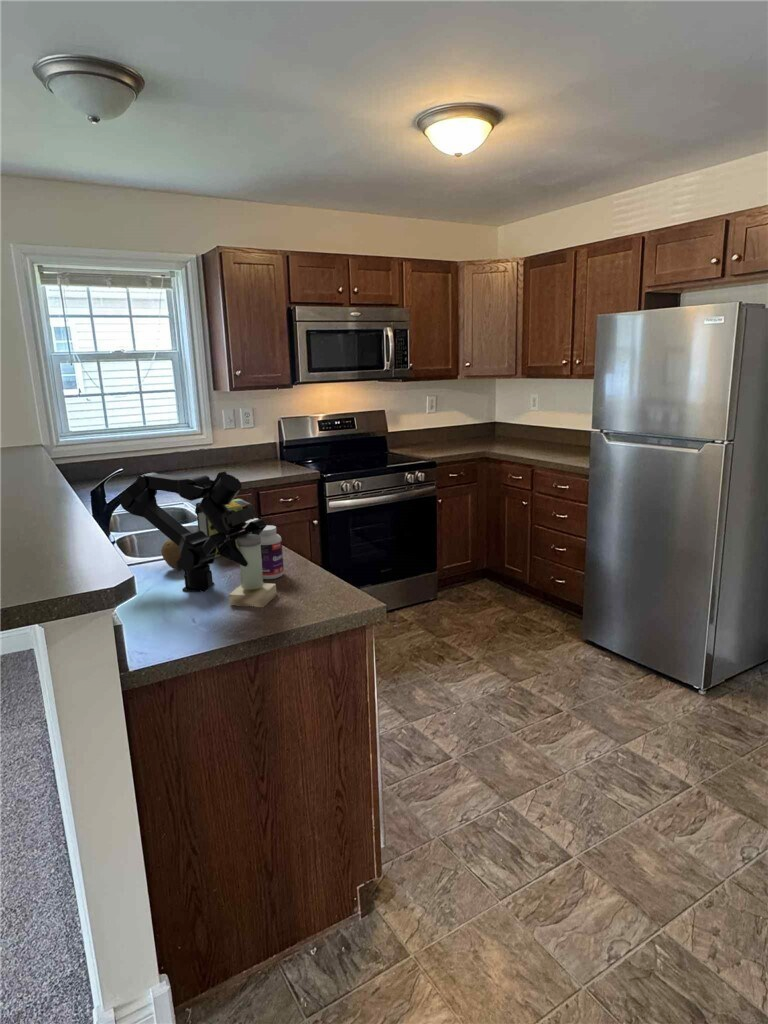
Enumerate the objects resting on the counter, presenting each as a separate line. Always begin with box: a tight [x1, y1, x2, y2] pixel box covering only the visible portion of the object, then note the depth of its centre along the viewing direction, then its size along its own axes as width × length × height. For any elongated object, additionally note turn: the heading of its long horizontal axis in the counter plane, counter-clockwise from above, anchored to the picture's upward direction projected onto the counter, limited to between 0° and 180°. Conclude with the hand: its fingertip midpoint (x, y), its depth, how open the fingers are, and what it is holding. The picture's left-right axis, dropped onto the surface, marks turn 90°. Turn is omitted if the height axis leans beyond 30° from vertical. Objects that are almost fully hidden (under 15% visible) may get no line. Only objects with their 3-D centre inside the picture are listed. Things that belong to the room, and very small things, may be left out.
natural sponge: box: [160, 538, 181, 571], centre depth 188 cm, size 9×9×10 cm
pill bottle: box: [259, 524, 285, 580], centre depth 179 cm, size 8×8×14 cm
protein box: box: [196, 498, 253, 558], centre depth 205 cm, size 10×15×16 cm
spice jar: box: [237, 534, 264, 590], centre depth 161 cm, size 6×6×13 cm
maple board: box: [228, 582, 277, 608], centre depth 163 cm, size 9×9×3 cm
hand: (254, 562), depth 160 cm, fingers closed on spice jar, 5 cm apart
